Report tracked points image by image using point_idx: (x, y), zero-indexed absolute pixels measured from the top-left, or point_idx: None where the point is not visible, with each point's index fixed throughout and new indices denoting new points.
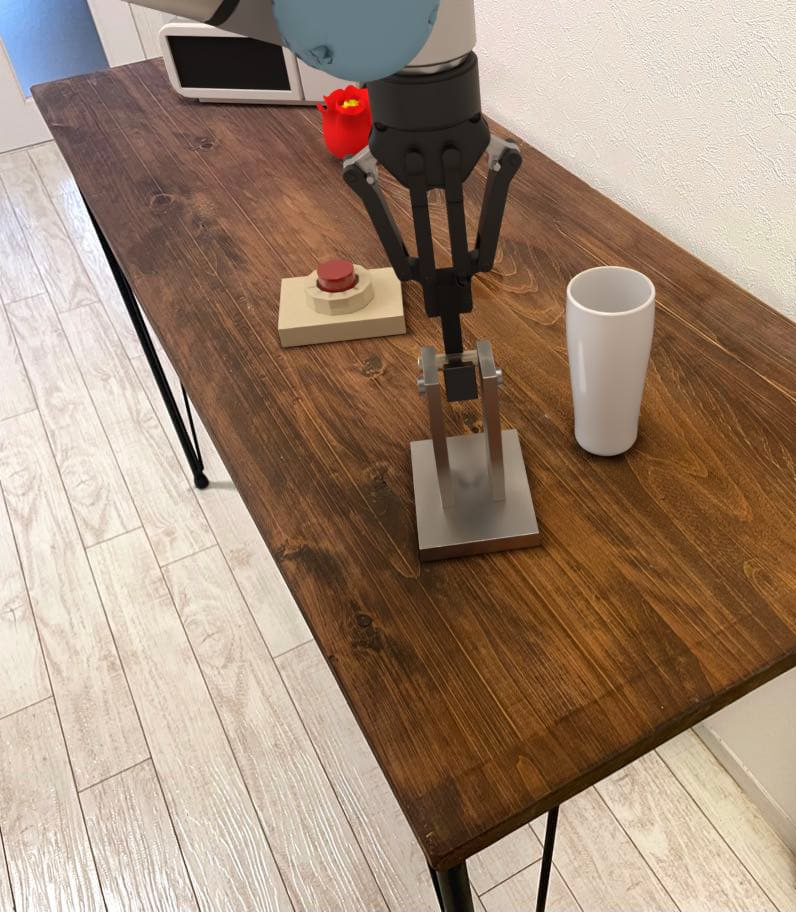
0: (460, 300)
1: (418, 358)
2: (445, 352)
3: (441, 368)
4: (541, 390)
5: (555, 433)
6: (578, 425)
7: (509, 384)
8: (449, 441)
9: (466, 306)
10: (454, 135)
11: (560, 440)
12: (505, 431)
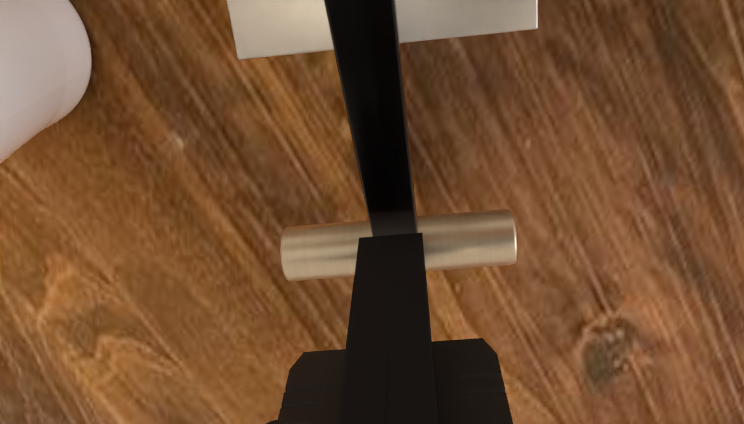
0: (336, 394)
1: (514, 247)
2: (421, 238)
3: (439, 216)
4: (197, 234)
5: (150, 74)
6: (43, 19)
7: (276, 261)
8: (425, 19)
9: (316, 373)
10: None
11: (135, 45)
12: (267, 50)
